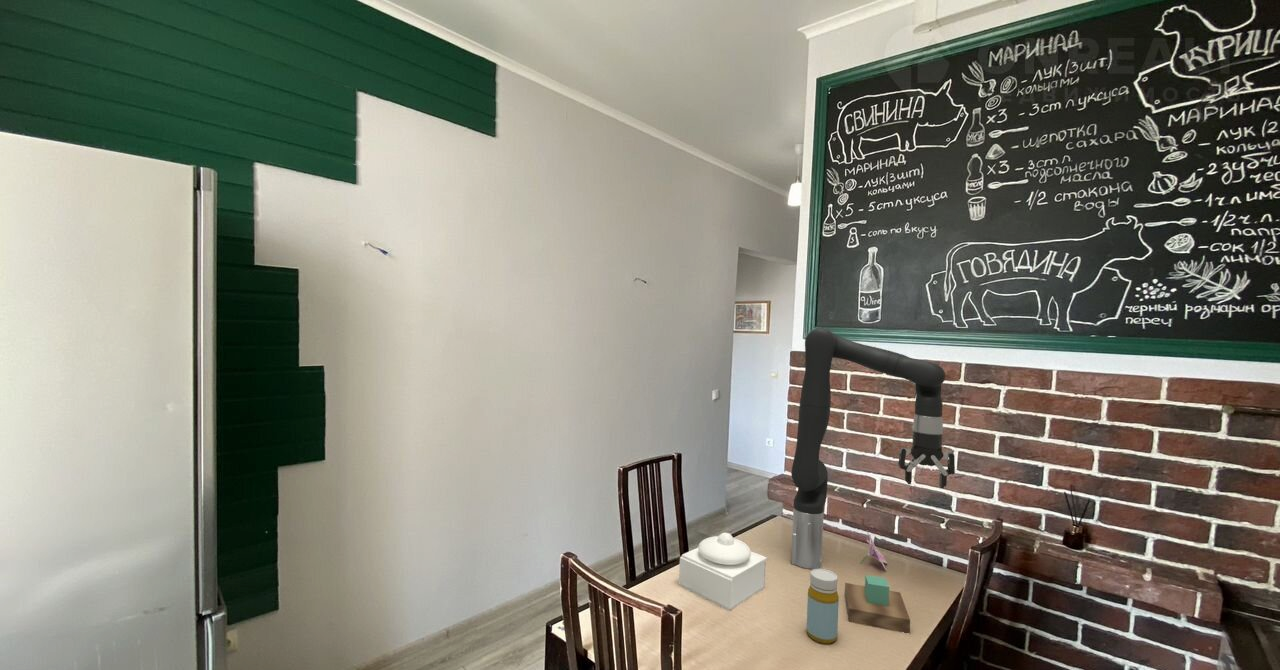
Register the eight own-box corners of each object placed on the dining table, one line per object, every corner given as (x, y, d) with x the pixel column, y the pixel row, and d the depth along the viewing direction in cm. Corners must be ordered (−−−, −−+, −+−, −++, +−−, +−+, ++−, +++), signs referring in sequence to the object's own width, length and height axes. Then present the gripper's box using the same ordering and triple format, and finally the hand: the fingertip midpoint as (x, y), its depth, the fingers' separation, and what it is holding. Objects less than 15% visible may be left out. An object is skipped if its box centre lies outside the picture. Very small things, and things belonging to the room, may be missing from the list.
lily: (874, 580, 153) (892, 555, 152) (842, 552, 161) (859, 528, 160) (887, 580, 161) (904, 556, 160) (855, 553, 170) (871, 530, 169)
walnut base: (848, 623, 128) (849, 608, 128) (844, 596, 142) (845, 582, 142) (909, 636, 124) (910, 619, 124) (899, 606, 137) (900, 592, 137)
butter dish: (678, 585, 144) (680, 530, 144) (716, 566, 157) (717, 515, 156) (730, 611, 131) (732, 551, 131) (766, 588, 144) (768, 533, 144)
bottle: (801, 627, 125) (804, 567, 125) (828, 627, 126) (831, 567, 126) (813, 645, 118) (816, 581, 118) (842, 644, 119) (844, 581, 119)
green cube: (867, 602, 131) (868, 583, 131) (864, 593, 136) (865, 575, 136) (888, 606, 130) (889, 587, 130) (884, 596, 135) (885, 578, 135)
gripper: (903, 430, 146) (900, 486, 146) (959, 435, 141) (956, 492, 141) (898, 426, 153) (896, 479, 153) (951, 430, 148) (949, 485, 149)
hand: (925, 485), depth 147 cm, fingers open, 8 cm apart
